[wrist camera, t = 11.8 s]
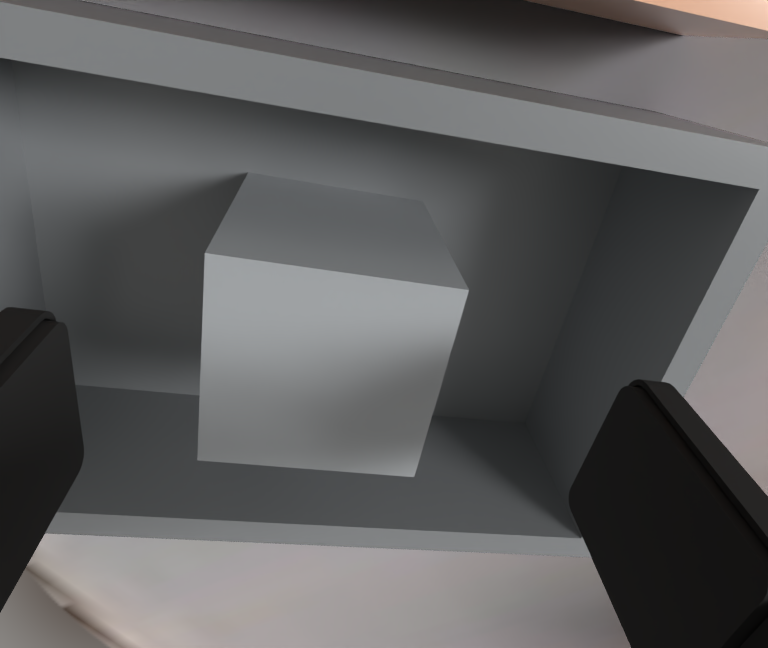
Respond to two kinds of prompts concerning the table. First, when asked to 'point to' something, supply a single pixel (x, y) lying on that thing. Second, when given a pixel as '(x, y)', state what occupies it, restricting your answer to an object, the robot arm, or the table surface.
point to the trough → (680, 15)
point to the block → (324, 329)
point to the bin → (369, 174)
